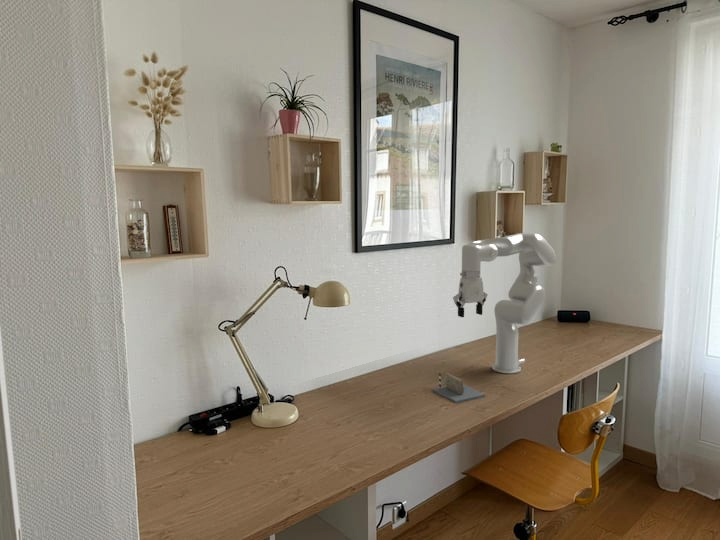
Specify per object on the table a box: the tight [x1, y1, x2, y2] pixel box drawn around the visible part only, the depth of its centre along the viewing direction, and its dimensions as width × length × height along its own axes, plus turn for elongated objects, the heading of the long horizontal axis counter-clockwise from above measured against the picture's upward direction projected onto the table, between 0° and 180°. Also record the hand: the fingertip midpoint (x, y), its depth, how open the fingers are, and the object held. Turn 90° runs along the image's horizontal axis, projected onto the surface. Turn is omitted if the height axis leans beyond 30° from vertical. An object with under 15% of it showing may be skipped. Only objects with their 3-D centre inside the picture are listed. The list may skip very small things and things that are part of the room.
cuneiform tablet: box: [438, 372, 464, 395], centre depth 200 cm, size 6×4×12 cm
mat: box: [431, 384, 486, 404], centre depth 199 cm, size 14×15×1 cm
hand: (470, 315), depth 210 cm, fingers open, 9 cm apart
